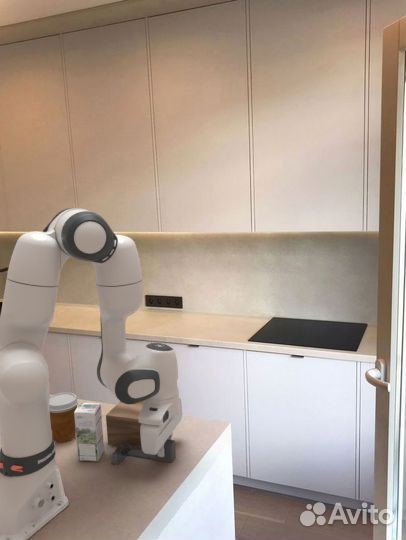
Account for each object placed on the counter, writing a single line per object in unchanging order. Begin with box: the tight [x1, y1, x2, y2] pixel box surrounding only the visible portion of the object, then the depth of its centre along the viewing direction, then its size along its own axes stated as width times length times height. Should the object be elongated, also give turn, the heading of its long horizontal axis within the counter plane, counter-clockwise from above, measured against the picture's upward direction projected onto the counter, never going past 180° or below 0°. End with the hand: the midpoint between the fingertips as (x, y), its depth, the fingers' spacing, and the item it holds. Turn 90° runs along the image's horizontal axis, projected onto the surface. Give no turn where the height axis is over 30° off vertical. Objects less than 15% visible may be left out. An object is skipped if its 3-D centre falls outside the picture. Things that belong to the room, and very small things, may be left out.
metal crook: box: [110, 439, 176, 466], centre depth 130 cm, size 7×16×5 cm, turn 72°
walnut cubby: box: [105, 400, 144, 447], centre depth 145 cm, size 19×10×9 cm, turn 162°
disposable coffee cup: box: [49, 392, 79, 443], centre depth 143 cm, size 10×10×12 cm
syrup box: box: [74, 402, 105, 462], centre depth 132 cm, size 6×6×14 cm
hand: (164, 451), depth 131 cm, fingers closed on metal crook, 3 cm apart
